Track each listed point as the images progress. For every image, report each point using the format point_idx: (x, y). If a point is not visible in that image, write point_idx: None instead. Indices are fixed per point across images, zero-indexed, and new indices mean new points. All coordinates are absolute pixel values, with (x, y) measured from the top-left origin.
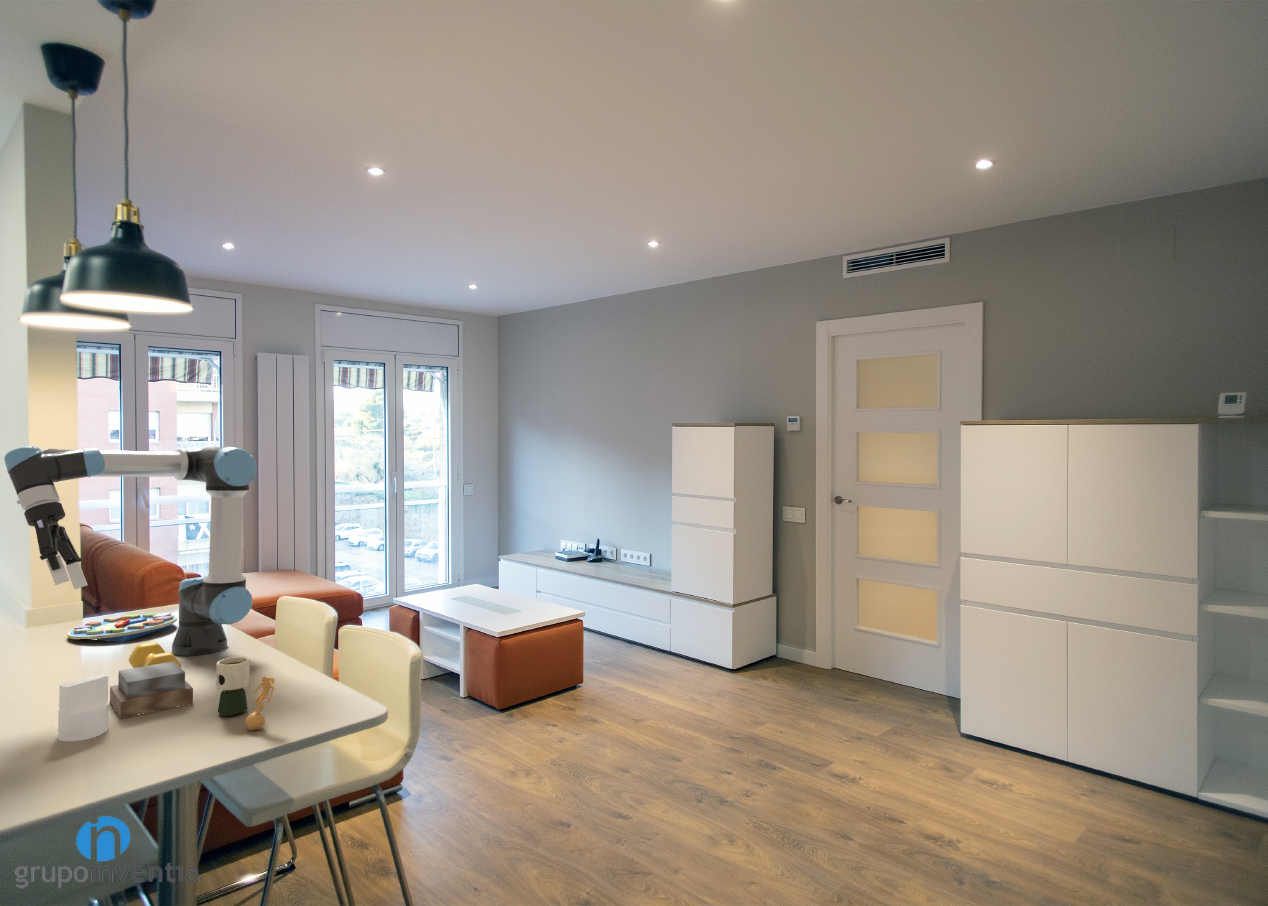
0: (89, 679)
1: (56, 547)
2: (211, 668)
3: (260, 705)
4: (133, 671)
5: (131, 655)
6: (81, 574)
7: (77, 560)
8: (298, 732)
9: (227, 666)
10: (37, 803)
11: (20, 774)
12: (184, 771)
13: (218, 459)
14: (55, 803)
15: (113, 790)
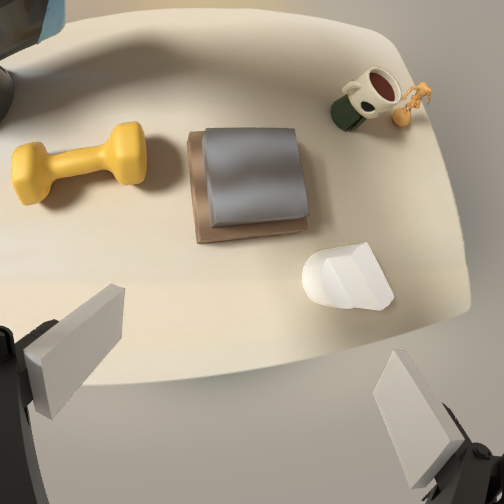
0: (373, 269)
1: (471, 488)
2: (97, 90)
3: (414, 107)
4: (239, 198)
5: (27, 198)
6: (92, 319)
7: (15, 360)
8: None
9: (400, 99)
10: (455, 299)
11: (407, 325)
12: (450, 198)
13: None
14: (460, 287)
15: (459, 249)
